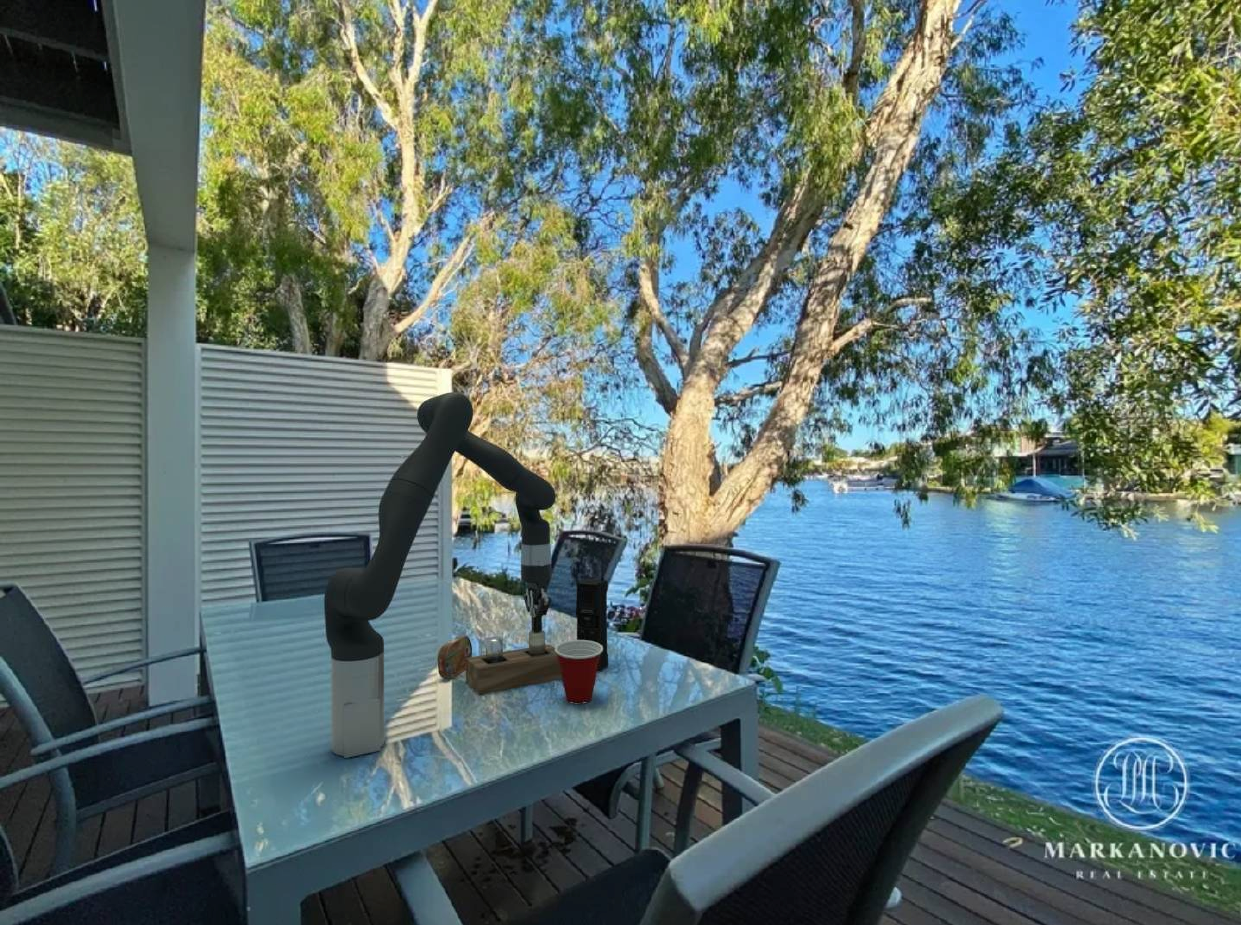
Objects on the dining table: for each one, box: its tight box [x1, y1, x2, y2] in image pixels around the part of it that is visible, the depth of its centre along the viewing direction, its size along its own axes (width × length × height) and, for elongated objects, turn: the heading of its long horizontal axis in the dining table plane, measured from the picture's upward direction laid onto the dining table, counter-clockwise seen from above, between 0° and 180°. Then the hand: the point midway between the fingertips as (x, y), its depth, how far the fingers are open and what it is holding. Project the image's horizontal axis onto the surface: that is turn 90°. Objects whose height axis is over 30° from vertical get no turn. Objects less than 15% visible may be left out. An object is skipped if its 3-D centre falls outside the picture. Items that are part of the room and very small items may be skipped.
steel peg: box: [485, 636, 504, 664], centre depth 155 cm, size 4×4×6 cm
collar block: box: [465, 644, 562, 696], centre depth 157 cm, size 10×22×6 cm, turn 121°
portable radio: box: [575, 570, 609, 672], centre depth 167 cm, size 8×6×25 cm
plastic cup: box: [554, 639, 603, 703], centre depth 144 cm, size 11×11×12 cm
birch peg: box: [528, 630, 546, 656], centre depth 160 cm, size 4×4×6 cm
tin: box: [436, 635, 473, 680], centre depth 164 cm, size 15×3×8 cm, turn 168°
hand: (536, 631), depth 160 cm, fingers closed
